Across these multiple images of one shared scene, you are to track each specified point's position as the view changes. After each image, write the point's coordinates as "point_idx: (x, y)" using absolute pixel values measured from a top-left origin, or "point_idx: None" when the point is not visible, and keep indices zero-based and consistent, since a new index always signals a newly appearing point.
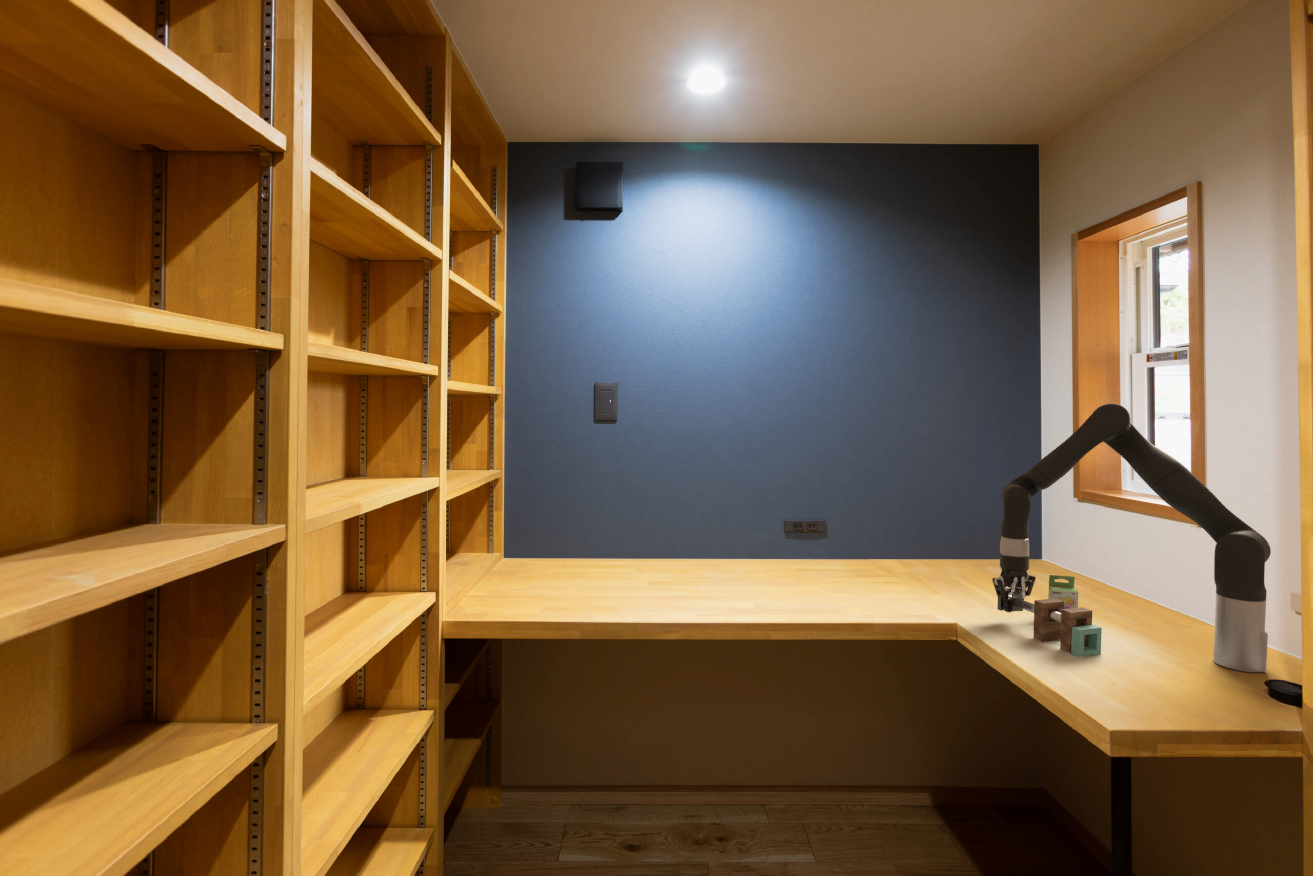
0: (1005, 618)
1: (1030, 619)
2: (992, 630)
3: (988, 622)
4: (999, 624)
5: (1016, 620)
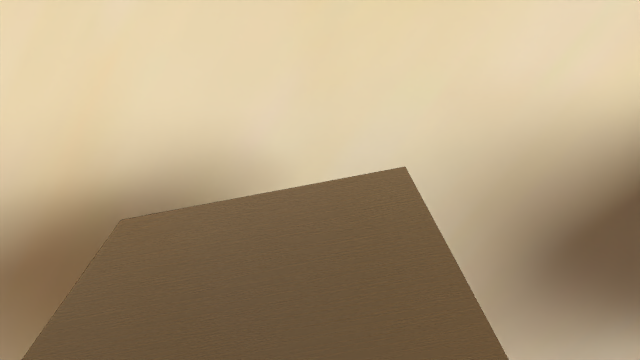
0: (346, 19)
1: (595, 79)
2: (21, 336)
3: (79, 134)
4: (166, 199)
5: (421, 98)
